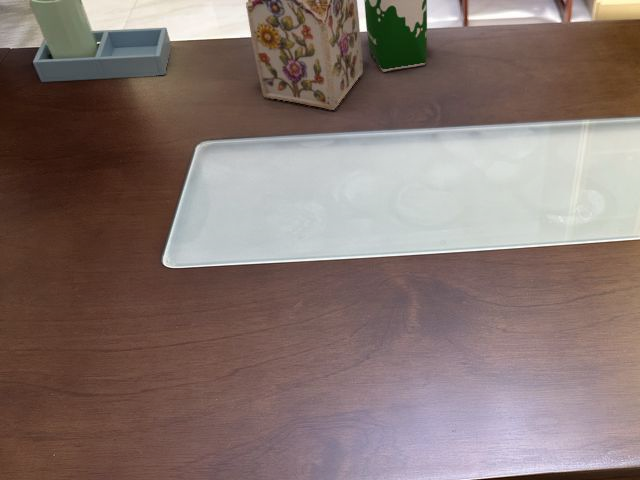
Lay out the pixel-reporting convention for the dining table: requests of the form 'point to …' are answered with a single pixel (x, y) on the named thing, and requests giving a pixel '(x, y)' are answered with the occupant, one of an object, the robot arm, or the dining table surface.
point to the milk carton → (397, 31)
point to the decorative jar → (306, 49)
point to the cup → (65, 28)
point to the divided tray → (111, 57)
